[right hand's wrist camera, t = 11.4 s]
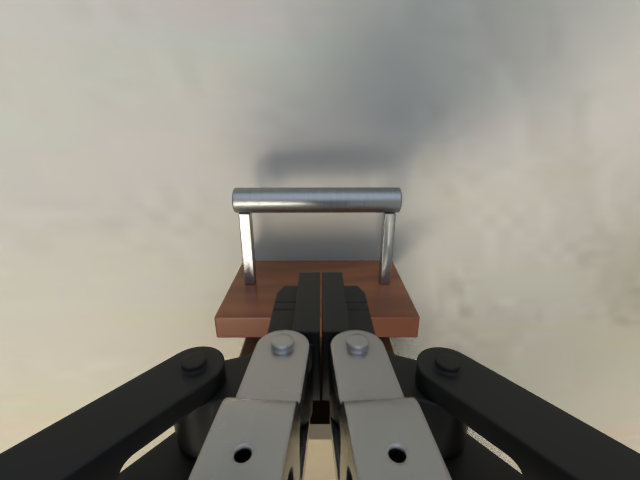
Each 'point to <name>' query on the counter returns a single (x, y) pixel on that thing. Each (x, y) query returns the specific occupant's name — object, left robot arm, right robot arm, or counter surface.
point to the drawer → (315, 269)
